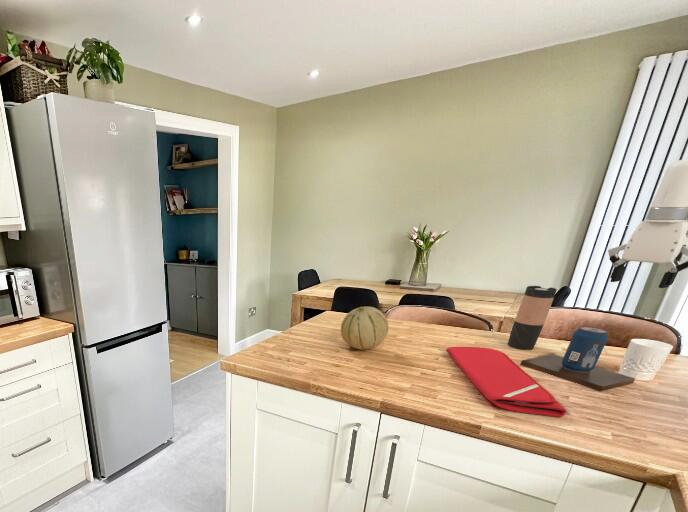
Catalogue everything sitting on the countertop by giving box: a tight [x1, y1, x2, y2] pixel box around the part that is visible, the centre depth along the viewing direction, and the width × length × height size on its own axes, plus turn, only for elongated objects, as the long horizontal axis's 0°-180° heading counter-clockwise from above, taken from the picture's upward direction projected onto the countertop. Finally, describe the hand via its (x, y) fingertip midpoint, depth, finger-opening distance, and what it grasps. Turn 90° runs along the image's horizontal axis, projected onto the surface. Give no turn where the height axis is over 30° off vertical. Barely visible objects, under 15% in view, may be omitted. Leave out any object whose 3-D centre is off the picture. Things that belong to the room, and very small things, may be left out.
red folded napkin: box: [445, 346, 567, 418], centre depth 112 cm, size 16×41×4 cm, turn 161°
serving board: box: [520, 353, 636, 392], centre depth 115 cm, size 20×14×2 cm
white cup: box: [617, 338, 674, 382], centre depth 111 cm, size 8×8×10 cm
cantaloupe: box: [340, 306, 390, 351], centre depth 135 cm, size 15×15×15 cm
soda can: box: [562, 325, 609, 373], centre depth 113 cm, size 7×7×12 cm
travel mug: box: [507, 285, 558, 351], centre depth 132 cm, size 8×8×20 cm
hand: (638, 284), depth 106 cm, fingers open, 9 cm apart
